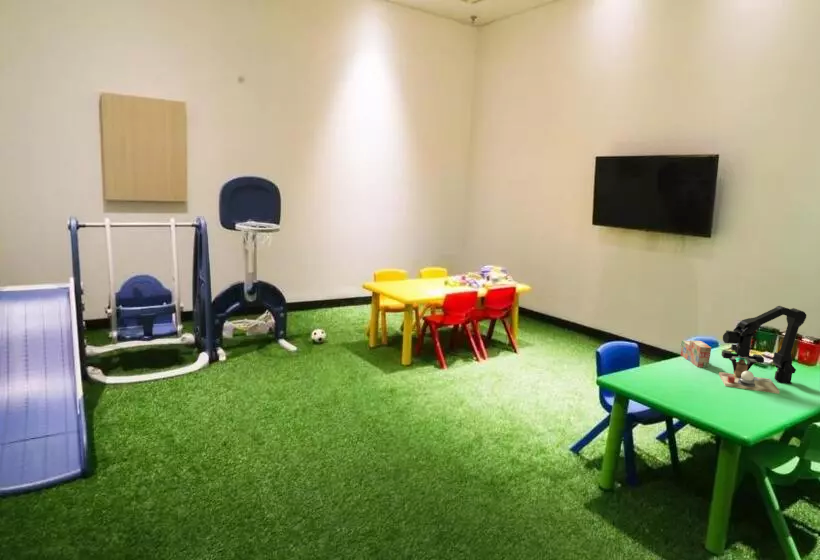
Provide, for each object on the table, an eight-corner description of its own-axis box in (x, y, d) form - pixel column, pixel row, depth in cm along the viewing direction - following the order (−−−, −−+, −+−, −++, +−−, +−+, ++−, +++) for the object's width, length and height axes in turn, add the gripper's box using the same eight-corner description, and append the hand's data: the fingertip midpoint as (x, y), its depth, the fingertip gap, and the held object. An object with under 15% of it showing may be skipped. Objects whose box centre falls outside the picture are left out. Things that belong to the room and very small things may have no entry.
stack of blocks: (679, 355, 327) (682, 335, 325) (690, 355, 327) (692, 336, 325) (697, 367, 306) (700, 346, 304) (708, 367, 306) (711, 347, 304)
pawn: (743, 373, 290) (746, 358, 288) (746, 376, 285) (748, 361, 284) (733, 372, 292) (735, 357, 290) (735, 375, 287) (737, 359, 285)
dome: (752, 380, 280) (754, 370, 279) (755, 384, 274) (757, 374, 273) (737, 378, 282) (739, 368, 281) (740, 382, 276) (742, 372, 275)
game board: (769, 381, 287) (770, 373, 286) (779, 394, 270) (780, 385, 269) (718, 374, 295) (719, 366, 294) (725, 386, 278) (726, 378, 277)
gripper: (760, 342, 289) (756, 369, 292) (721, 337, 296) (717, 364, 299) (766, 348, 279) (761, 376, 282) (725, 343, 285) (721, 371, 288)
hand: (740, 371), depth 288 cm, fingers closed on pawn, 5 cm apart
